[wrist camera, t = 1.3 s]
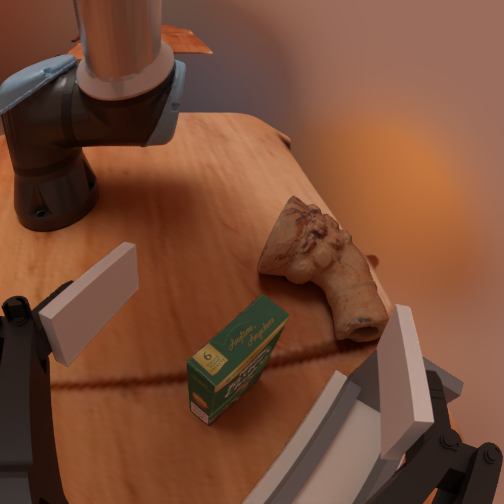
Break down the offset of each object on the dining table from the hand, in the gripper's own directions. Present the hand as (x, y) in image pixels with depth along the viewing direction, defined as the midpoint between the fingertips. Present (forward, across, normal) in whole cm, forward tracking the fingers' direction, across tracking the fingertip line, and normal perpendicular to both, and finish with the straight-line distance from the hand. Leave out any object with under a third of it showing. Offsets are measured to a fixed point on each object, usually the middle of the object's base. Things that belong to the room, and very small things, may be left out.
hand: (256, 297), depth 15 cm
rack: (+2, +10, -21) cm, 24 cm away
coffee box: (+7, -3, -18) cm, 20 cm away
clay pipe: (+24, +3, -14) cm, 28 cm away
